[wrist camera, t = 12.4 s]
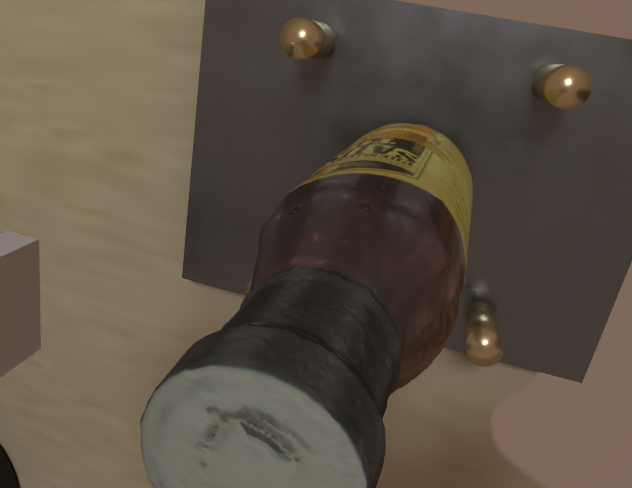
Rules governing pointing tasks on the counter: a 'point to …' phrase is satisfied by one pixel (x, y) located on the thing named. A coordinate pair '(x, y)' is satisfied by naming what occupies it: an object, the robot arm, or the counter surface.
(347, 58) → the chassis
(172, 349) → the counter surface
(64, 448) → the counter surface
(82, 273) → the counter surface
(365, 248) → the sauce bottle
